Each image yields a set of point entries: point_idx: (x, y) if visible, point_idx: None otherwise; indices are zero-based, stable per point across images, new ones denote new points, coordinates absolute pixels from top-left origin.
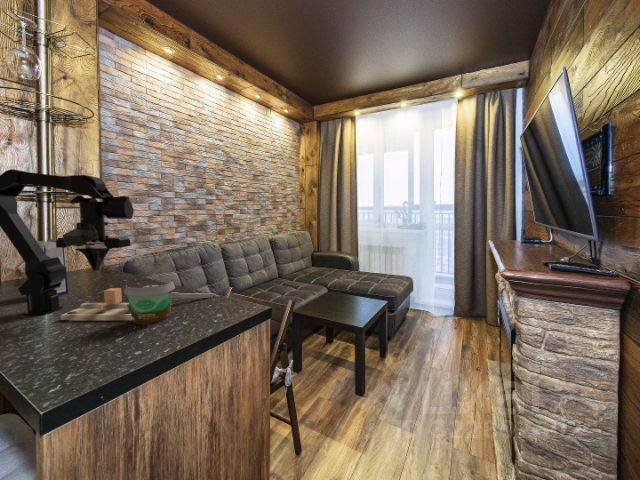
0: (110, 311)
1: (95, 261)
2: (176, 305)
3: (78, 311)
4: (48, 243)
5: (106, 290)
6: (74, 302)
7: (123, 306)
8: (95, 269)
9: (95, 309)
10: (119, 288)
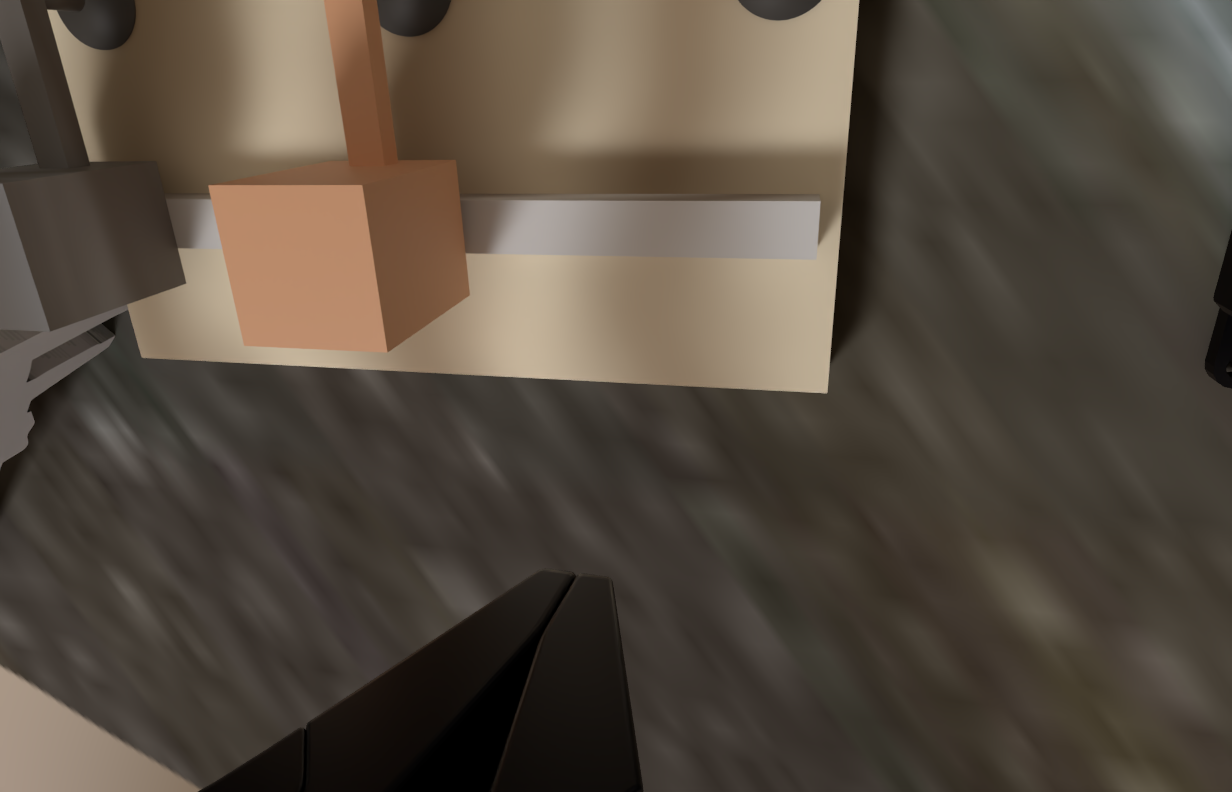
0: None
1: (373, 716)
2: None
3: (735, 24)
4: None
5: (341, 207)
6: (1190, 588)
7: None
8: (535, 582)
9: (569, 114)
10: (252, 328)
